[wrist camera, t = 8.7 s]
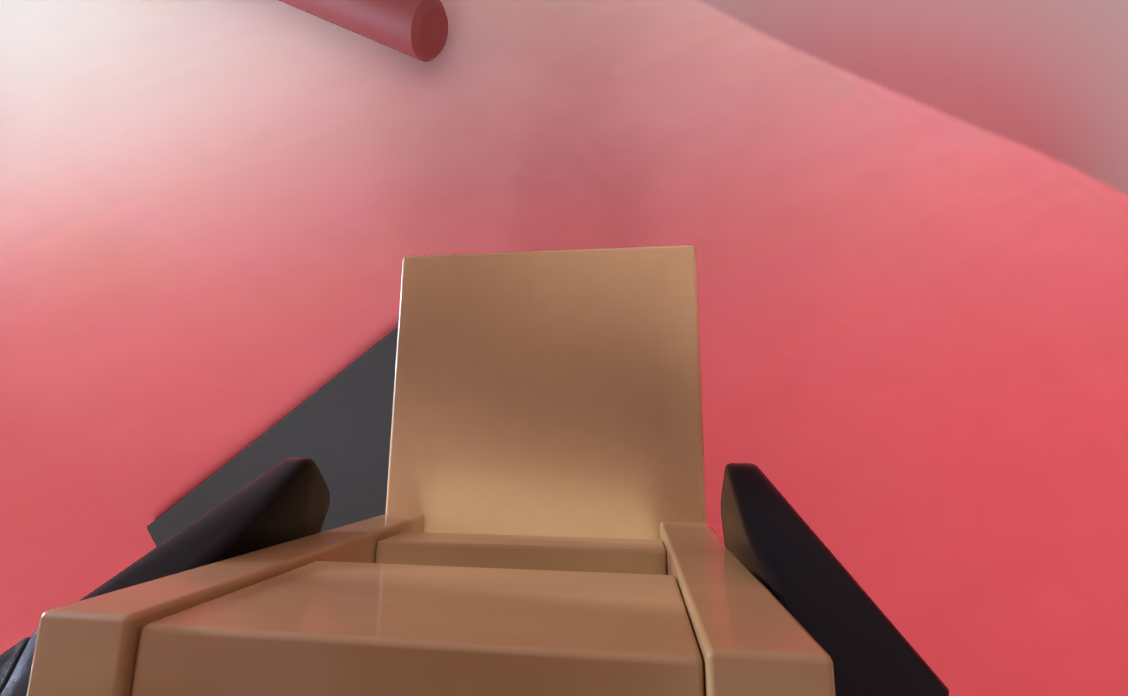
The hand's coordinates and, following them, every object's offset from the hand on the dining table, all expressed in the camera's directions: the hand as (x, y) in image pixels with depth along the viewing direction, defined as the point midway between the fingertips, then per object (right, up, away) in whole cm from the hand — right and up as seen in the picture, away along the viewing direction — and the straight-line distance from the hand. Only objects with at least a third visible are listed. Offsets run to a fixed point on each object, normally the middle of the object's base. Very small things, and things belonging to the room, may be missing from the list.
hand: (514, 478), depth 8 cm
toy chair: (+1, 0, +7) cm, 8 cm away
